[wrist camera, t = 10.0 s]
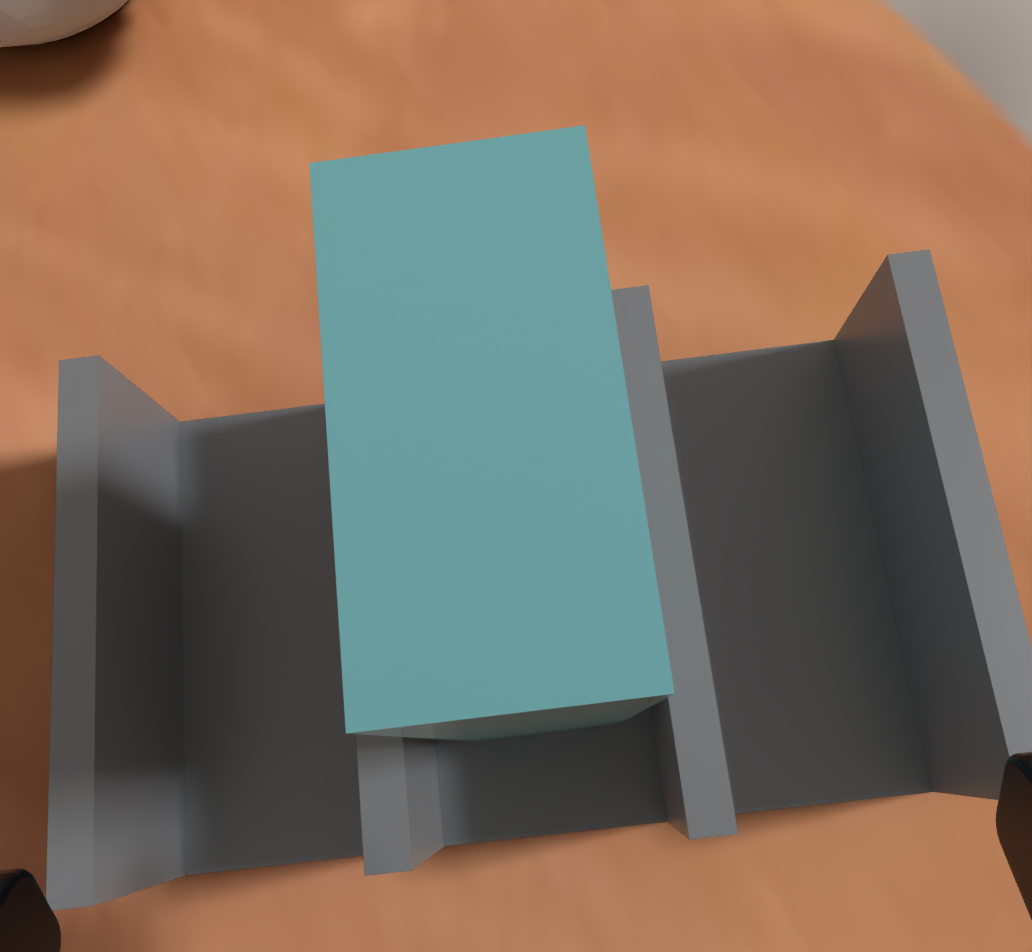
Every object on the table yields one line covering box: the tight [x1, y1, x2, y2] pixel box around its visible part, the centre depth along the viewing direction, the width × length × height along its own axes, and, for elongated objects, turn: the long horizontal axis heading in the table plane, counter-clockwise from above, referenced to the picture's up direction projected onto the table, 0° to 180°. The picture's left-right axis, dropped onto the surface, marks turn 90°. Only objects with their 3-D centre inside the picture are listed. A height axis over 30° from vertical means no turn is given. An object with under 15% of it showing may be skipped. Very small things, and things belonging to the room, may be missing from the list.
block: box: [310, 126, 675, 741], centre depth 15 cm, size 6×3×12 cm, turn 7°
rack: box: [46, 250, 1032, 911], centre depth 19 cm, size 10×17×5 cm, turn 96°
